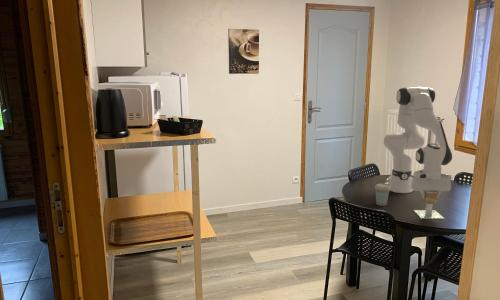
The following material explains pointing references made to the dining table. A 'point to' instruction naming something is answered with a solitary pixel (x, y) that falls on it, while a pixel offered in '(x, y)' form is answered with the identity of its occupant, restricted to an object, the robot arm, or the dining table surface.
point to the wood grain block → (430, 197)
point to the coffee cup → (382, 194)
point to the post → (428, 213)
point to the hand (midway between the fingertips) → (429, 198)
